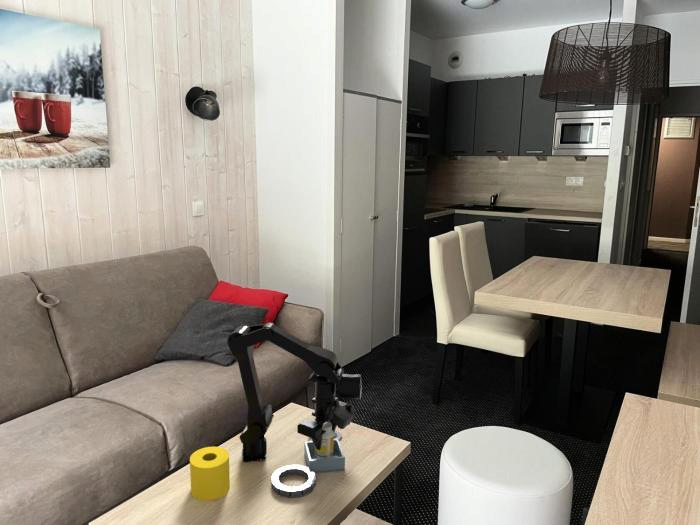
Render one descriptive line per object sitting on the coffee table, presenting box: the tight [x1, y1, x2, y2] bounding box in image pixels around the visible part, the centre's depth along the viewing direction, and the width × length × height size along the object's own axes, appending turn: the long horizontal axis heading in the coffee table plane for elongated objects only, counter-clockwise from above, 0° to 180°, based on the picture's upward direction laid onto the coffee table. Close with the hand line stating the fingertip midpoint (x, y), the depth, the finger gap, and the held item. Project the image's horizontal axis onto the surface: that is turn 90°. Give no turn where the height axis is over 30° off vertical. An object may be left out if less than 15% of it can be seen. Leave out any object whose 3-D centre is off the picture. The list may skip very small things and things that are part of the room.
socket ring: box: [270, 464, 317, 499], centre depth 146 cm, size 12×12×2 cm
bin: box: [303, 439, 346, 474], centre depth 157 cm, size 10×10×4 cm
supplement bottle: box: [315, 422, 334, 459], centre depth 156 cm, size 5×5×10 cm
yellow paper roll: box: [189, 446, 231, 502], centre depth 142 cm, size 10×10×9 cm
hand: (324, 444), depth 156 cm, fingers closed on supplement bottle, 5 cm apart
